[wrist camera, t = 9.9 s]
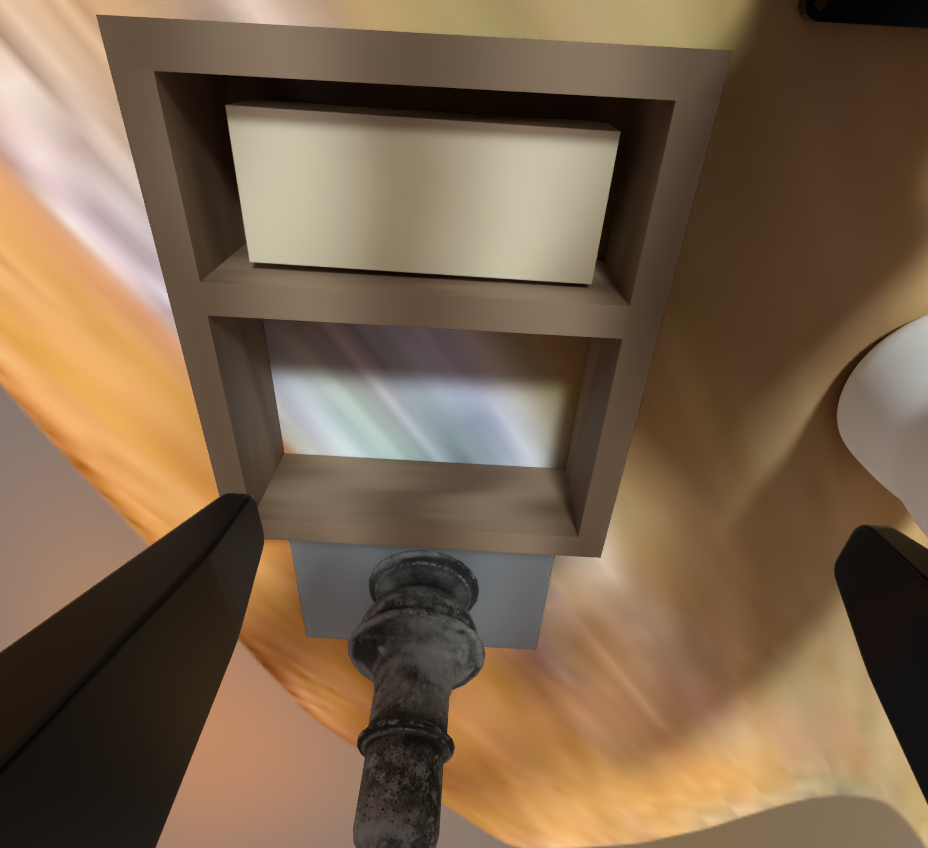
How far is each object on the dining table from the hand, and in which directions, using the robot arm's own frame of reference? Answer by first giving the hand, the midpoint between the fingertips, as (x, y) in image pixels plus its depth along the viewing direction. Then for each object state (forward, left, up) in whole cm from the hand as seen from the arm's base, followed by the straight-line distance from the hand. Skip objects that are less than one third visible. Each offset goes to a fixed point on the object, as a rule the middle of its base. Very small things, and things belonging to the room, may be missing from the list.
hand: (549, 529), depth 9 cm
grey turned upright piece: (+3, +16, -12) cm, 20 cm away
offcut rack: (+3, +2, -13) cm, 13 cm away
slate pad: (+3, +16, -13) cm, 21 cm away
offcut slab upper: (+3, -2, -12) cm, 12 cm away
